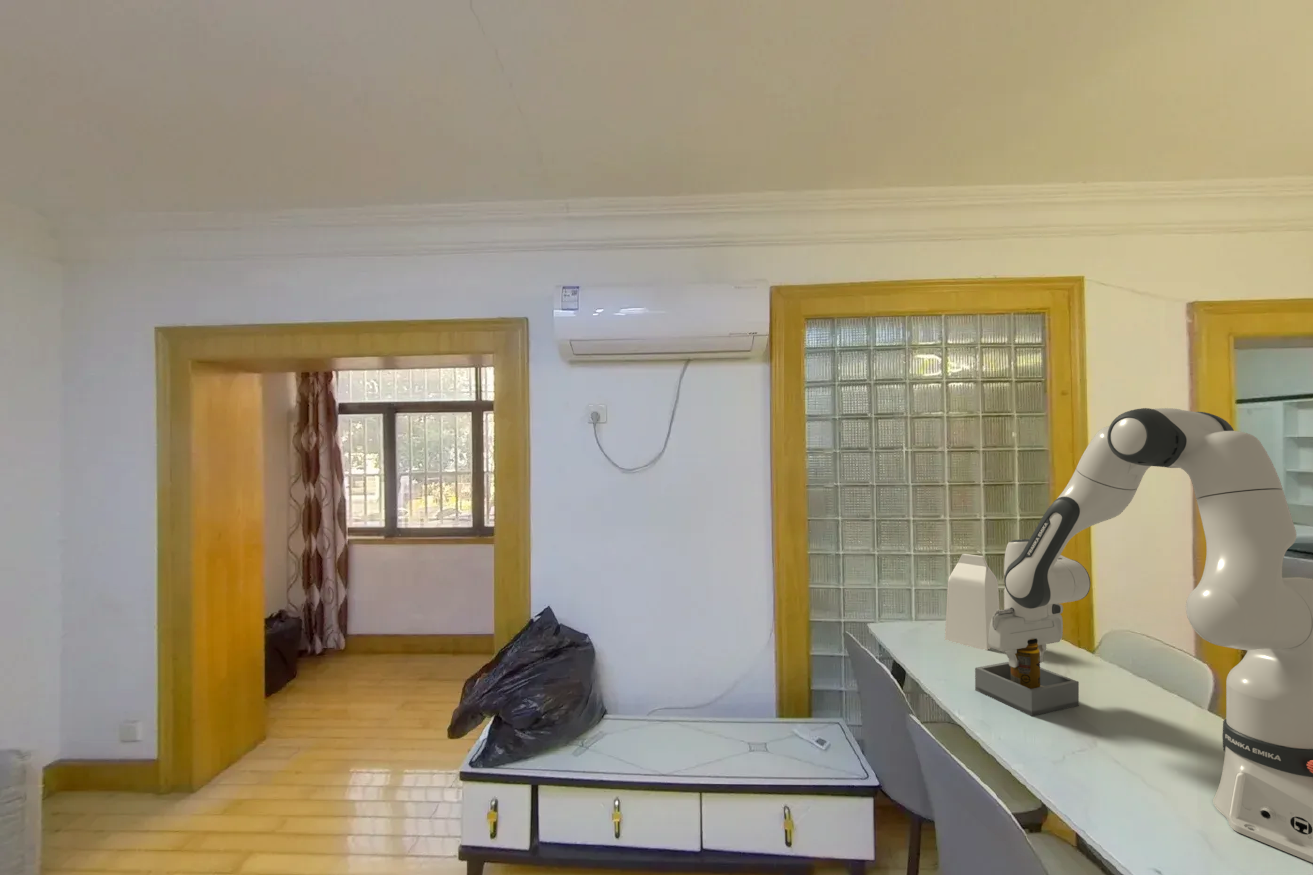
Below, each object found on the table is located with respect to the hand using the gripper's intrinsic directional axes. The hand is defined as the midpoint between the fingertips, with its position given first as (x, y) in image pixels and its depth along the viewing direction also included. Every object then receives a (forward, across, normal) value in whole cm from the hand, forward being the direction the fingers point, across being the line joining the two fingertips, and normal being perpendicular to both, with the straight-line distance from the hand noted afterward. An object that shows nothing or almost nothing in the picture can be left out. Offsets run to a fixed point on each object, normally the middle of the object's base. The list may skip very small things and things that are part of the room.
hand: (1025, 664), depth 147 cm
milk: (+8, +22, +35) cm, 42 cm away
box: (+8, 0, 0) cm, 8 cm away
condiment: (+6, -1, 0) cm, 6 cm away
